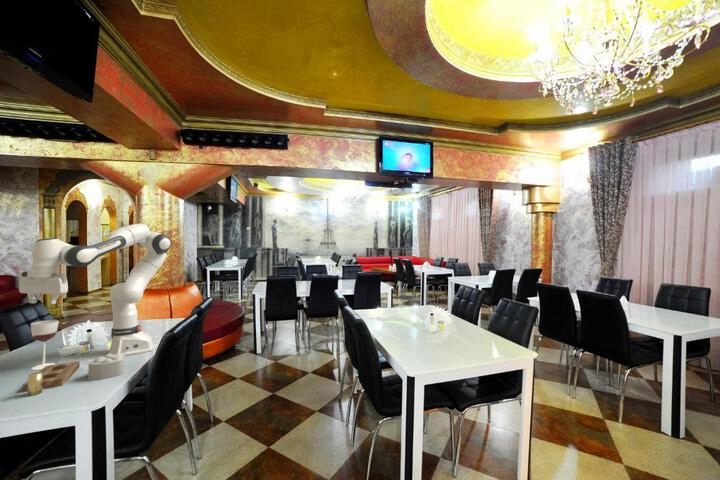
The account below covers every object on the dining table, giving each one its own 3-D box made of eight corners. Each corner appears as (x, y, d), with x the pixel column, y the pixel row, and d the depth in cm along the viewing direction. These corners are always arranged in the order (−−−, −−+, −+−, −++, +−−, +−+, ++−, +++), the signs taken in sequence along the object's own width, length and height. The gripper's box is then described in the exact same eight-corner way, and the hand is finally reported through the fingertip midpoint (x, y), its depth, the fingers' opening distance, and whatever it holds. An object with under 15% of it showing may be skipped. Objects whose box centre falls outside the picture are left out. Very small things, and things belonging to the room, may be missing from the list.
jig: (79, 367, 147) (79, 361, 147) (62, 385, 128) (62, 378, 128) (45, 372, 141) (46, 365, 141) (22, 392, 122) (22, 384, 122)
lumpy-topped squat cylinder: (124, 375, 139) (124, 356, 139) (86, 382, 131) (87, 363, 131) (124, 367, 147) (125, 350, 147) (89, 374, 139) (90, 356, 139)
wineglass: (29, 366, 147) (31, 322, 148) (57, 361, 154) (58, 318, 155) (29, 371, 141) (30, 325, 142) (57, 365, 148) (58, 322, 149)
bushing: (44, 390, 124) (44, 371, 124) (39, 394, 120) (40, 375, 120) (30, 392, 122) (31, 373, 122) (25, 397, 118) (26, 377, 118)
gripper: (73, 273, 138) (71, 303, 137) (32, 272, 139) (30, 301, 138) (58, 274, 131) (56, 305, 131) (16, 273, 133) (13, 303, 132)
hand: (42, 303), depth 134 cm, fingers open, 8 cm apart
